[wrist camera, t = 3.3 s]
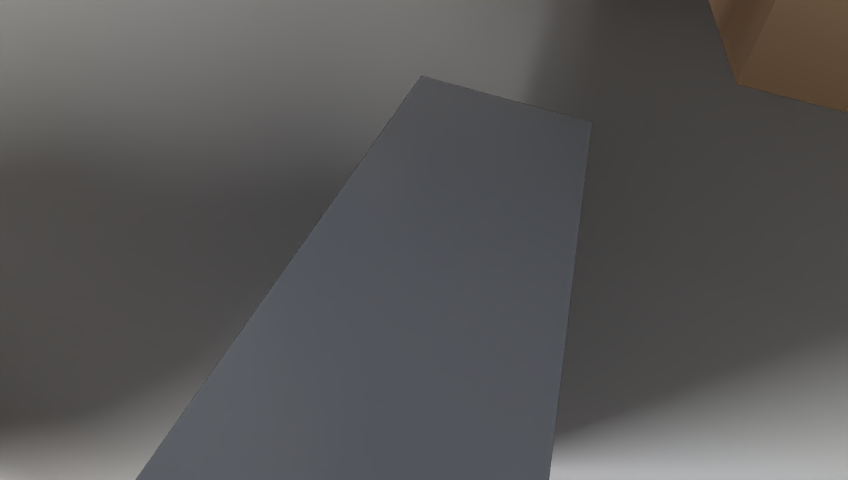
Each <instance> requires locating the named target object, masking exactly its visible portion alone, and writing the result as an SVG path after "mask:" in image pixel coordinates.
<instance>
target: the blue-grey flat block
mask: <svg viewBox="0 0 848 480" xmlns="http://www.w3.org/2000/svg"><path fill="white" fill-rule="evenodd" d="M591 126H592V122H590V121H586V120H583V119H579V118H575V117H571V116H568V115H564V114H560V113H557V112H553V111H549V110H546V109H542V108H538V107H534V106H531V105H527V104H523V103H520V102H516V101H512V100H508V99H505V98H501V97H497V96H494V95H490V94H486V93H483V92H479V91H475V90H471V89H468V88H464V87H460V86H457V85H453V84H449V83H446V82H442V81H438V80H434V79H431V78H427V77H423V76H421V77H420V78H419V80H418V81H417V83H416V84H415V85H414V87H413V88H412V90H411V91H410V93H409V94H408V95H407V97H406V98H405V100H404V101H403V102H402V104H401V105H400V107H399V108H398V110H397V111H396V112H395V114H394V115H393V117H392V118H391V119H390V121H389V122H388V124H387V125H386V126H385V128H384V129H383V131H382V132H381V134H380V135H379V136H378V138H377V139H376V141H375V142H374V143H373V145H372V146H371V148H370V149H369V151H368V152H367V153H366V155H365V156H364V158H363V159H362V160H361V162H360V163H359V165H358V166H357V167H356V169H355V170H354V172H353V173H352V175H351V176H350V177H349V179H348V180H347V182H346V183H345V184H344V186H343V187H342V189H341V190H340V192H339V193H338V194H337V196H336V197H335V199H334V200H333V201H332V203H331V204H330V206H329V207H328V208H327V210H326V211H325V213H324V214H323V216H322V217H321V218H320V220H319V221H318V223H317V224H316V225H315V227H314V228H313V230H312V231H311V233H310V234H309V235H308V237H307V238H306V240H305V241H304V242H303V244H302V245H301V247H300V248H299V249H298V251H297V252H296V254H295V255H294V257H293V258H292V259H291V261H290V262H289V264H288V265H287V266H286V268H285V269H284V271H283V272H282V274H281V275H280V276H279V278H278V279H277V281H276V282H275V283H274V285H273V286H272V288H271V289H270V291H269V292H268V293H267V295H266V296H265V298H264V299H263V300H262V302H261V303H260V305H259V306H258V307H257V309H256V310H255V312H254V313H253V315H252V316H251V317H250V319H249V320H248V322H247V323H246V324H245V326H244V327H243V329H242V330H241V332H240V333H239V334H238V336H237V337H236V339H235V340H234V341H233V343H232V344H231V346H230V347H229V348H228V350H227V351H226V353H225V354H224V356H223V357H222V358H221V360H220V361H219V363H218V364H217V365H216V367H215V368H214V370H213V371H212V373H211V374H210V375H209V377H208V378H207V380H206V381H205V382H204V384H203V385H202V387H201V388H200V389H199V391H198V392H197V394H196V395H195V397H194V398H193V399H192V401H191V402H190V404H189V405H188V406H187V408H186V409H185V411H184V412H183V414H182V415H181V416H180V418H179V419H178V421H177V422H176V423H175V425H174V426H173V428H172V429H171V430H170V432H169V433H168V435H167V436H166V438H165V439H164V440H163V442H162V443H161V445H160V446H159V447H158V449H157V450H156V452H155V453H154V455H153V456H152V457H151V459H150V460H149V462H148V463H147V464H146V466H145V467H144V469H143V470H142V471H141V473H140V474H139V476H138V477H137V479H136V480H549V476H550V467H551V459H552V451H553V442H554V434H555V426H556V417H557V409H558V401H559V392H560V384H561V376H562V367H563V359H564V351H565V342H566V334H567V326H568V317H569V309H570V301H571V292H572V284H573V276H574V267H575V259H576V251H577V242H578V234H579V226H580V217H581V209H582V201H583V192H584V184H585V176H586V167H587V159H588V151H589V142H590V134H591Z"/></svg>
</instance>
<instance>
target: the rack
mask: <svg viewBox="0 0 848 480" xmlns="http://www.w3.org/2000/svg"><path fill="white" fill-rule="evenodd" d="M708 1H709V4H710V7H711V10H712V13H713V16H714V19H715V22H716V25H717V28H718V31H719V34H720V37H721V40H722V43H723V46H724V49H725V52H726V55H727V58H728V61H729V64H730V67H731V70H732V73H733V76H734V79H735V82H736V84H738V85H741V86H745V87H749V88H753V89H757V90H761V91H765V92H768V93H772V94H776V95H780V96H784V97H788V98H792V99H796V100H799V101H803V102H807V103H811V104H815V105H819V106H823V107H826V108H830V109H834V110H838V111H842V112H847V110H848V0H708Z"/></svg>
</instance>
